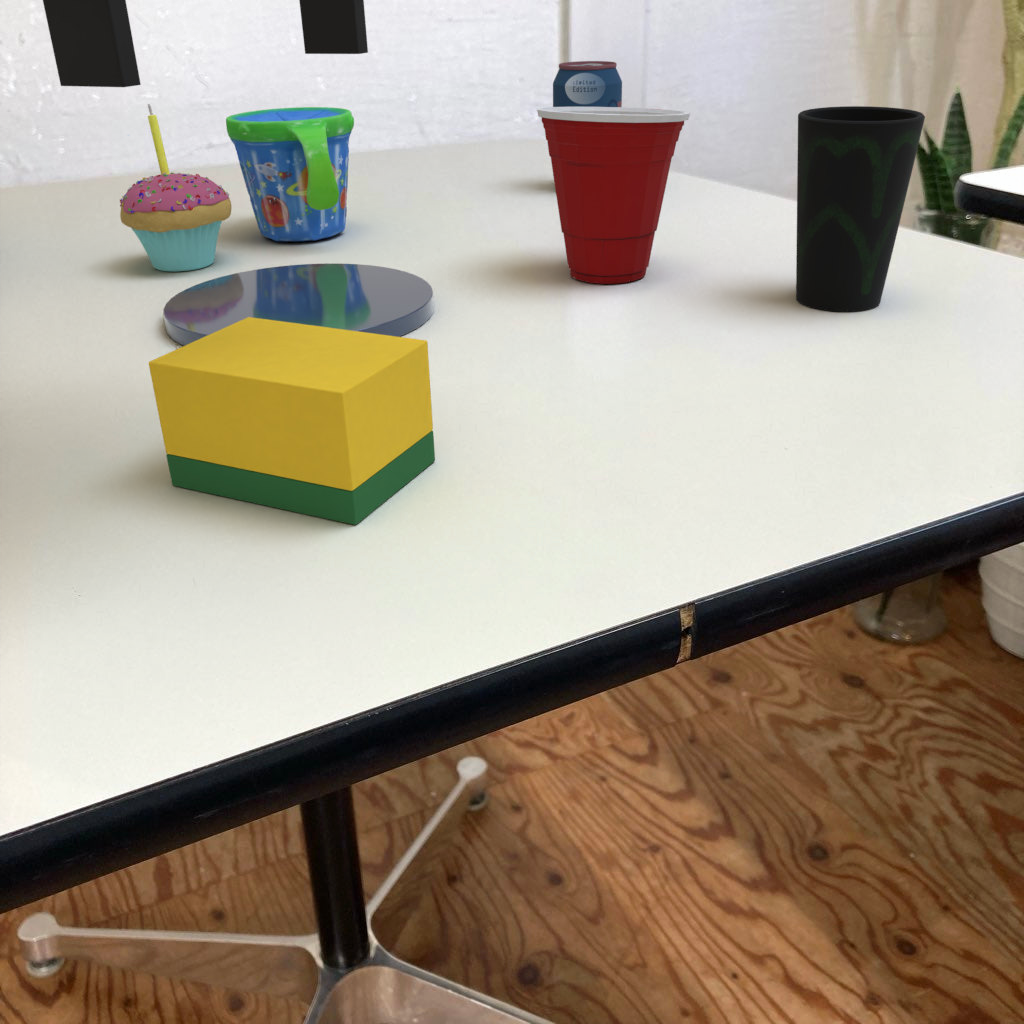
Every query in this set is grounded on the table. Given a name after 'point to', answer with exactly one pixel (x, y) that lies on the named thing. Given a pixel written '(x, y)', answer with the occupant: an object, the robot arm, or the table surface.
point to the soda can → (587, 85)
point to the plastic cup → (610, 184)
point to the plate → (304, 300)
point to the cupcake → (175, 214)
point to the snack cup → (295, 169)
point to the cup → (850, 201)
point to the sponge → (296, 416)
